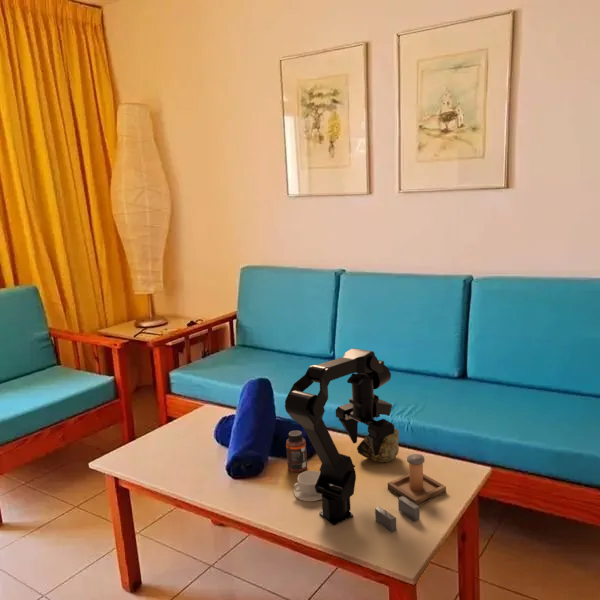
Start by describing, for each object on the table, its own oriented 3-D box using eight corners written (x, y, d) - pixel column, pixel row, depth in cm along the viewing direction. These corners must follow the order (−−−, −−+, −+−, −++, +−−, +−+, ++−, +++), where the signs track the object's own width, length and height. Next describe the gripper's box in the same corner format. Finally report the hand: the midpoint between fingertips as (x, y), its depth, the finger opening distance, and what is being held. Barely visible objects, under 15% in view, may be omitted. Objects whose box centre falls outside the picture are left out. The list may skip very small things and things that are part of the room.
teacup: (321, 479, 161) (320, 465, 160) (335, 496, 152) (334, 481, 151) (288, 488, 158) (287, 473, 157) (301, 506, 149) (300, 490, 148)
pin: (416, 494, 149) (415, 463, 147) (404, 487, 153) (403, 457, 151) (428, 488, 151) (428, 458, 149) (416, 481, 155) (416, 452, 153)
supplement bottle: (310, 469, 167) (308, 434, 165) (291, 474, 165) (289, 439, 162) (303, 461, 172) (300, 427, 170) (285, 465, 170) (282, 431, 168)
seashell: (370, 447, 178) (369, 418, 176) (404, 454, 172) (403, 424, 170) (355, 462, 170) (354, 431, 167) (391, 470, 164) (390, 438, 162)
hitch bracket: (391, 533, 135) (391, 520, 134) (375, 521, 140) (375, 508, 139) (419, 519, 140) (419, 506, 139) (403, 508, 145) (402, 496, 144)
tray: (415, 507, 145) (415, 500, 144) (387, 488, 154) (387, 482, 154) (446, 492, 150) (445, 486, 150) (417, 476, 160) (417, 470, 159)
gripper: (409, 397, 145) (411, 452, 148) (364, 378, 161) (367, 429, 164) (376, 408, 140) (378, 466, 143) (333, 388, 155) (336, 440, 158)
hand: (365, 448), depth 152 cm, fingers open, 9 cm apart
